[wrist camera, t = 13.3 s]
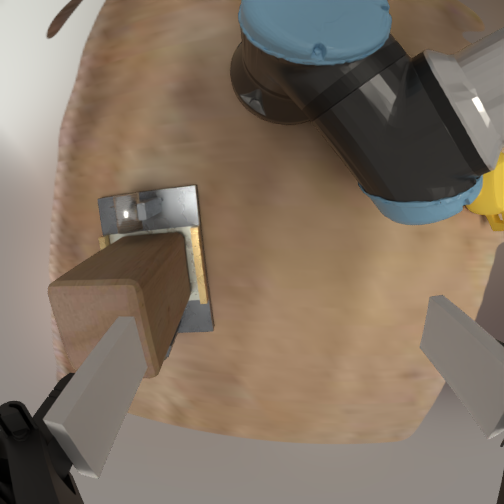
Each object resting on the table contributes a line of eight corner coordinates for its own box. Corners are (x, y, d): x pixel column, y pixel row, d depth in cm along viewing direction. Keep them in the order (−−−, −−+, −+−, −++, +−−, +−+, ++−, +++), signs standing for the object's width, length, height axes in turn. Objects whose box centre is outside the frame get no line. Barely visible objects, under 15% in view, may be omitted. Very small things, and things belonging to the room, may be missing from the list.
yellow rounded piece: (469, 126, 39) (507, 122, 30) (508, 174, 41) (543, 179, 32) (437, 187, 42) (475, 194, 33) (479, 232, 44) (514, 246, 35)
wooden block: (192, 297, 45) (159, 383, 26) (130, 298, 45) (71, 375, 26) (184, 230, 42) (135, 282, 23) (119, 235, 42) (41, 284, 23)
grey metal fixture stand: (101, 196, 42) (69, 205, 33) (196, 183, 42) (182, 188, 33) (128, 329, 48) (107, 361, 39) (214, 327, 48) (207, 362, 39)
